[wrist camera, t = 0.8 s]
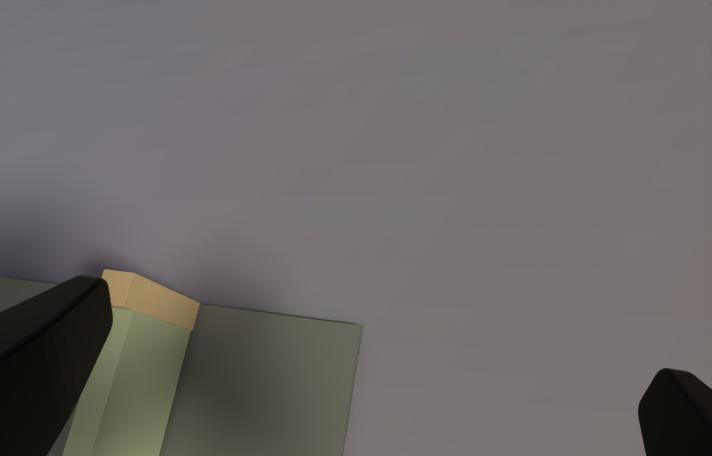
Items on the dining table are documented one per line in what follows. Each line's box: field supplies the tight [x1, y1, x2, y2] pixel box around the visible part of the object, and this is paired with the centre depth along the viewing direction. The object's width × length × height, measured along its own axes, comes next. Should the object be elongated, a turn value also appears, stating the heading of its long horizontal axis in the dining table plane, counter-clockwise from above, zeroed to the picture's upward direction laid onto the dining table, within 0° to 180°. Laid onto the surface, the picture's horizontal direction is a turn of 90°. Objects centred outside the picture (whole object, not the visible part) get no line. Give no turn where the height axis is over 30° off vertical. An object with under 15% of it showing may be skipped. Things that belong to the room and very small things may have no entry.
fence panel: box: [62, 269, 200, 456], centre depth 23 cm, size 10×1×6 cm, turn 171°
